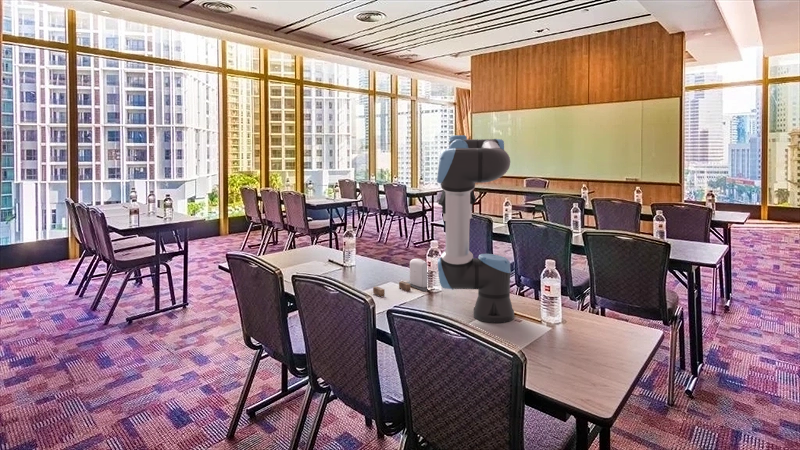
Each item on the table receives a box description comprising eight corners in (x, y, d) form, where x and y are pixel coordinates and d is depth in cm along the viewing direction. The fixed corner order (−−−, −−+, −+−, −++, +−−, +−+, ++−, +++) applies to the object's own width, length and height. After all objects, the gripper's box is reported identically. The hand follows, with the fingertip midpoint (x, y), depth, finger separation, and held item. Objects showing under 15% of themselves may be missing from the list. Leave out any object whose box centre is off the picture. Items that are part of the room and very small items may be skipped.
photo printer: (408, 283, 233) (408, 257, 231) (415, 282, 235) (415, 256, 233) (422, 288, 225) (422, 261, 223) (429, 286, 227) (429, 260, 225)
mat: (434, 289, 225) (434, 288, 225) (424, 291, 222) (424, 290, 222) (413, 281, 238) (413, 280, 238) (403, 283, 235) (403, 282, 235)
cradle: (410, 290, 224) (410, 284, 223) (380, 296, 214) (380, 290, 214) (402, 287, 228) (402, 281, 228) (373, 293, 219) (373, 287, 219)
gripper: (472, 170, 227) (472, 216, 230) (430, 172, 213) (430, 221, 216) (484, 170, 221) (484, 218, 224) (441, 172, 207) (441, 223, 210)
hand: (457, 219), depth 220 cm, fingers open, 13 cm apart
